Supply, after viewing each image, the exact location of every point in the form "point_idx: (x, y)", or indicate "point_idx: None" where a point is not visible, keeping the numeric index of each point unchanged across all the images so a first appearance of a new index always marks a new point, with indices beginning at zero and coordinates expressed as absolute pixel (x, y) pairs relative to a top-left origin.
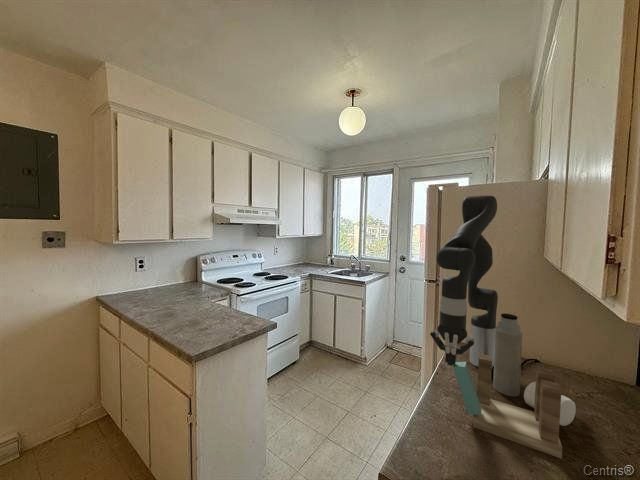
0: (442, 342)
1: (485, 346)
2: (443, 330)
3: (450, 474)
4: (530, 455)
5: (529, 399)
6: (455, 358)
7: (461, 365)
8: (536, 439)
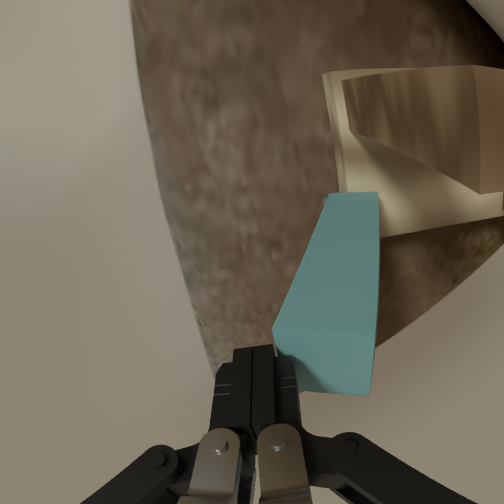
0: (156, 495)
1: None
2: None
3: None
4: (464, 235)
5: (488, 13)
6: (300, 419)
7: (341, 380)
8: (493, 216)
